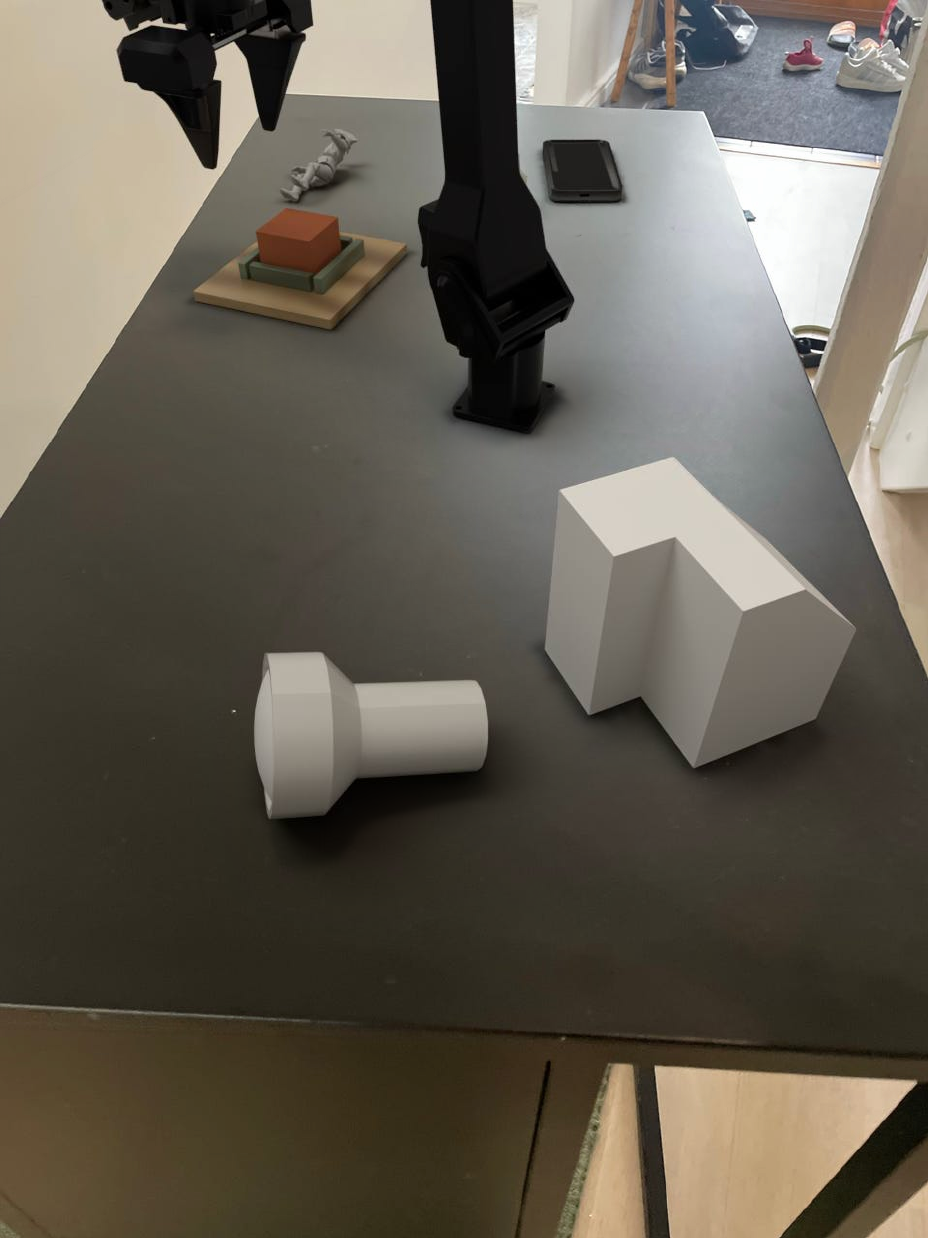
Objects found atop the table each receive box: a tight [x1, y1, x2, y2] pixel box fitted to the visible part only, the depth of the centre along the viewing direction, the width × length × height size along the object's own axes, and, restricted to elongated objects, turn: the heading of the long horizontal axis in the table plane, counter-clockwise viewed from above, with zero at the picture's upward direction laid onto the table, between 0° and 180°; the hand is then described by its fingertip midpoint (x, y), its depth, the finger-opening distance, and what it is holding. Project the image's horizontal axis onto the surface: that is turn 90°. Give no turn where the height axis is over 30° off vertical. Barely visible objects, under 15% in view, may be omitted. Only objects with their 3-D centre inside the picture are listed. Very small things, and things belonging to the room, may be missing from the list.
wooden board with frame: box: [192, 231, 408, 331], centre depth 86 cm, size 16×14×2 cm
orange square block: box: [255, 207, 341, 278], centre depth 84 cm, size 6×6×4 cm
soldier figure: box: [279, 128, 358, 203], centre depth 100 cm, size 8×5×12 cm
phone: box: [541, 138, 623, 203], centre depth 102 cm, size 8×1×15 cm
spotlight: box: [253, 651, 489, 820], centre depth 46 cm, size 8×11×8 cm
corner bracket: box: [544, 456, 857, 769], centre depth 48 cm, size 11×11×12 cm
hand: (240, 148), depth 77 cm, fingers open, 9 cm apart
